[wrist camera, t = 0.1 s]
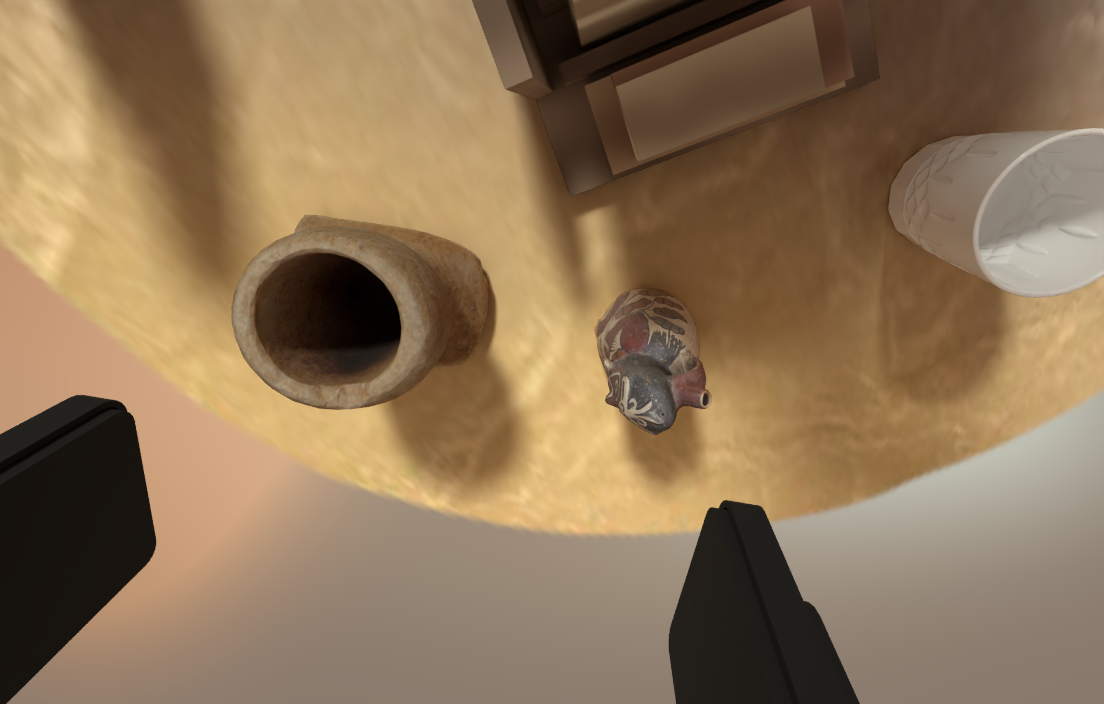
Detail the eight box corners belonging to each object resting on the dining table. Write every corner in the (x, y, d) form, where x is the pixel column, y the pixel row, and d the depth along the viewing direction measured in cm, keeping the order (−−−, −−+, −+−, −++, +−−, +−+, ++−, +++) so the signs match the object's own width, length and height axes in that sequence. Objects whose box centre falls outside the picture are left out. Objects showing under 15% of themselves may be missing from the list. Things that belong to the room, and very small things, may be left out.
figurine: (587, 295, 40) (585, 363, 29) (687, 278, 39) (724, 341, 28) (604, 384, 42) (607, 477, 31) (698, 369, 41) (736, 460, 30)
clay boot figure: (505, 216, 38) (454, 271, 24) (480, 369, 43) (425, 488, 29) (288, 169, 38) (112, 197, 24) (287, 328, 43) (139, 428, 29)
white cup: (958, 270, 37) (1078, 319, 28) (853, 229, 37) (939, 265, 27) (1038, 153, 34) (1201, 165, 25) (924, 106, 34) (1047, 101, 24)
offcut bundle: (585, 89, 33) (582, 80, 26) (807, -5, 31) (868, -41, 24) (611, 170, 35) (616, 183, 28) (824, 89, 32) (886, 80, 25)
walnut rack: (492, -29, 32) (424, -127, 20) (826, -190, 29) (1014, -443, 16) (571, 193, 37) (558, 233, 24) (868, 80, 33) (1040, 55, 20)
